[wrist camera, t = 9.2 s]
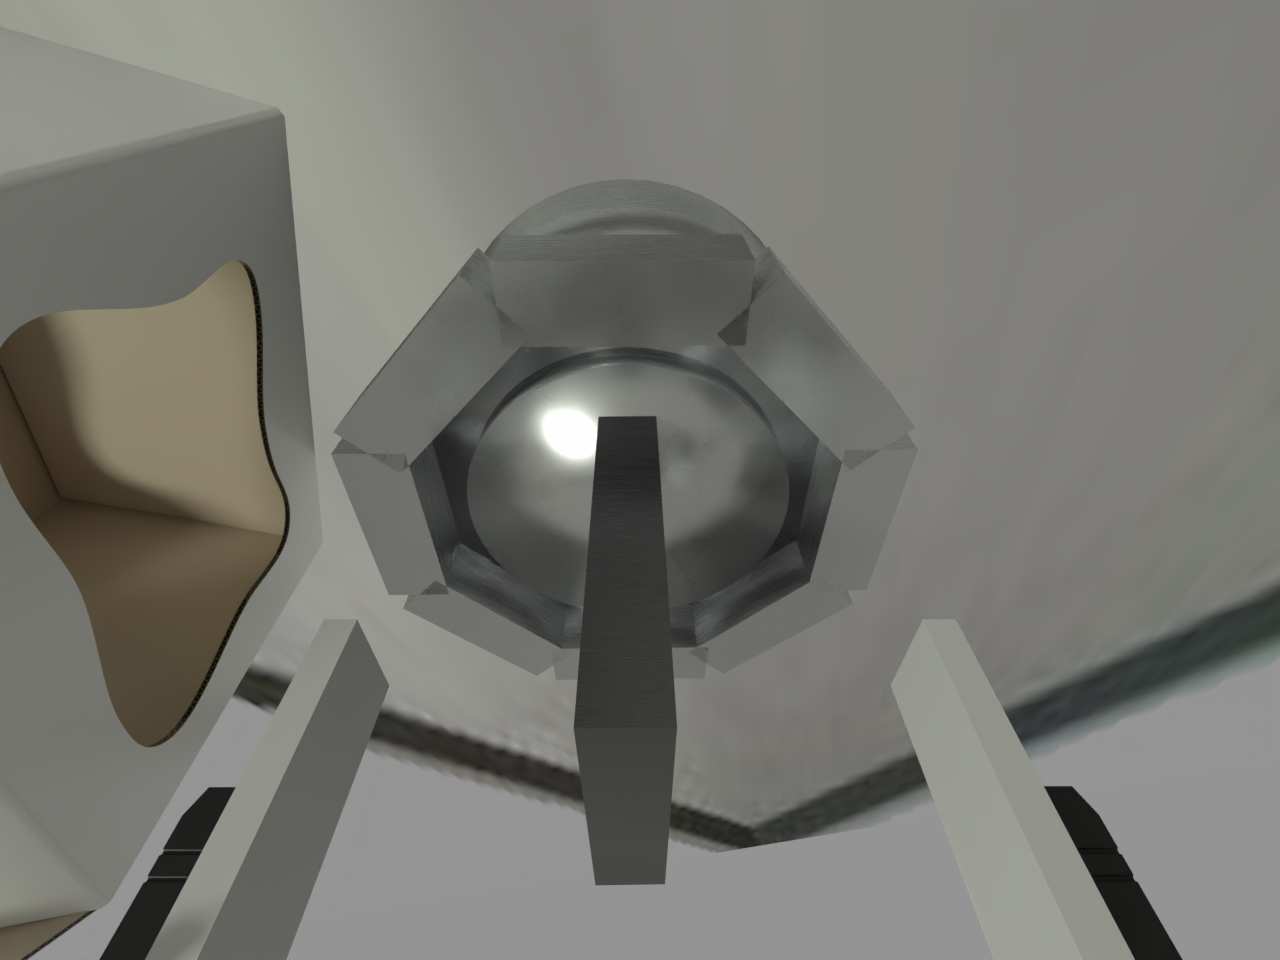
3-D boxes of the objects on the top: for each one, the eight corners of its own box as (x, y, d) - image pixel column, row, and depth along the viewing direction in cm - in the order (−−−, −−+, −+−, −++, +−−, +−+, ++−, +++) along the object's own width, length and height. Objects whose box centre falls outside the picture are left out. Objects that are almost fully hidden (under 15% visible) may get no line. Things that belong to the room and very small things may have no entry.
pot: (842, 163, 21) (987, 259, 13) (764, 566, 35) (808, 746, 26) (406, 164, 21) (252, 262, 12) (497, 568, 34) (452, 751, 26)
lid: (806, 345, 16) (982, 667, 8) (760, 586, 22) (833, 902, 14) (445, 348, 16) (260, 675, 8) (500, 589, 22) (427, 909, 14)
